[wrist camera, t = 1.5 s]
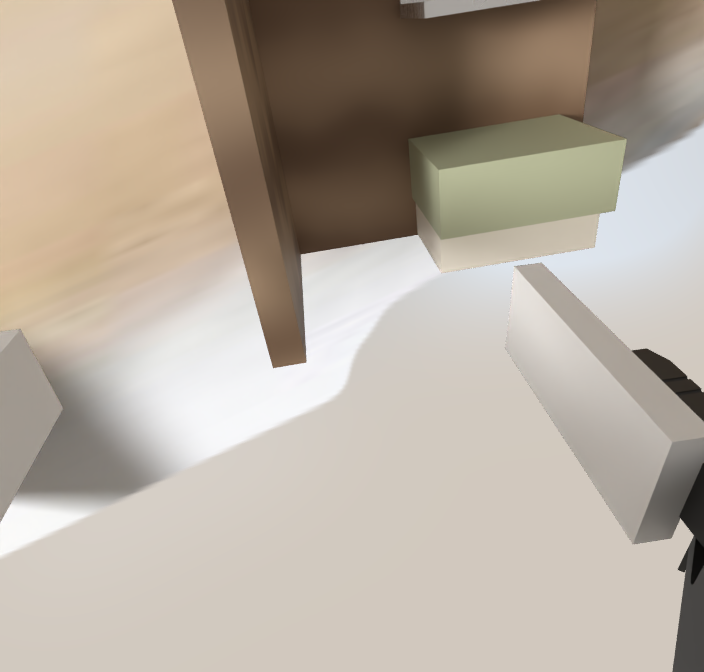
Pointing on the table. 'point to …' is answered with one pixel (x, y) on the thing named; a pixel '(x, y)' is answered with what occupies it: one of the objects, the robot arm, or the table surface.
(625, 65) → the table surface
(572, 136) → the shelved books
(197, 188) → the table surface
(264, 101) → the walnut shelf
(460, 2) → the bookend
